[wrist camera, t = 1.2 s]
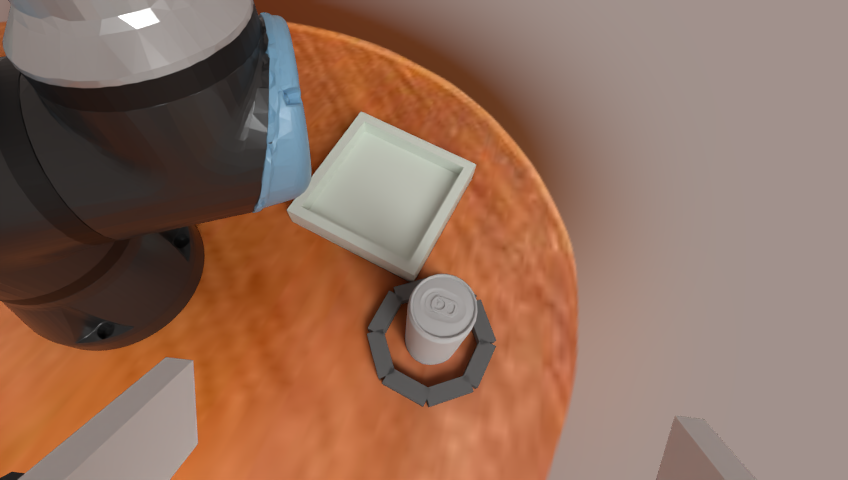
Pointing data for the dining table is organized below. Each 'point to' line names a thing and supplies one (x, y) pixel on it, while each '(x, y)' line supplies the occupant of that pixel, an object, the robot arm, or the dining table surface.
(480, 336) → the seat ring
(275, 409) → the dining table surface
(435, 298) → the beverage can
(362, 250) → the tray
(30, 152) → the robot arm
